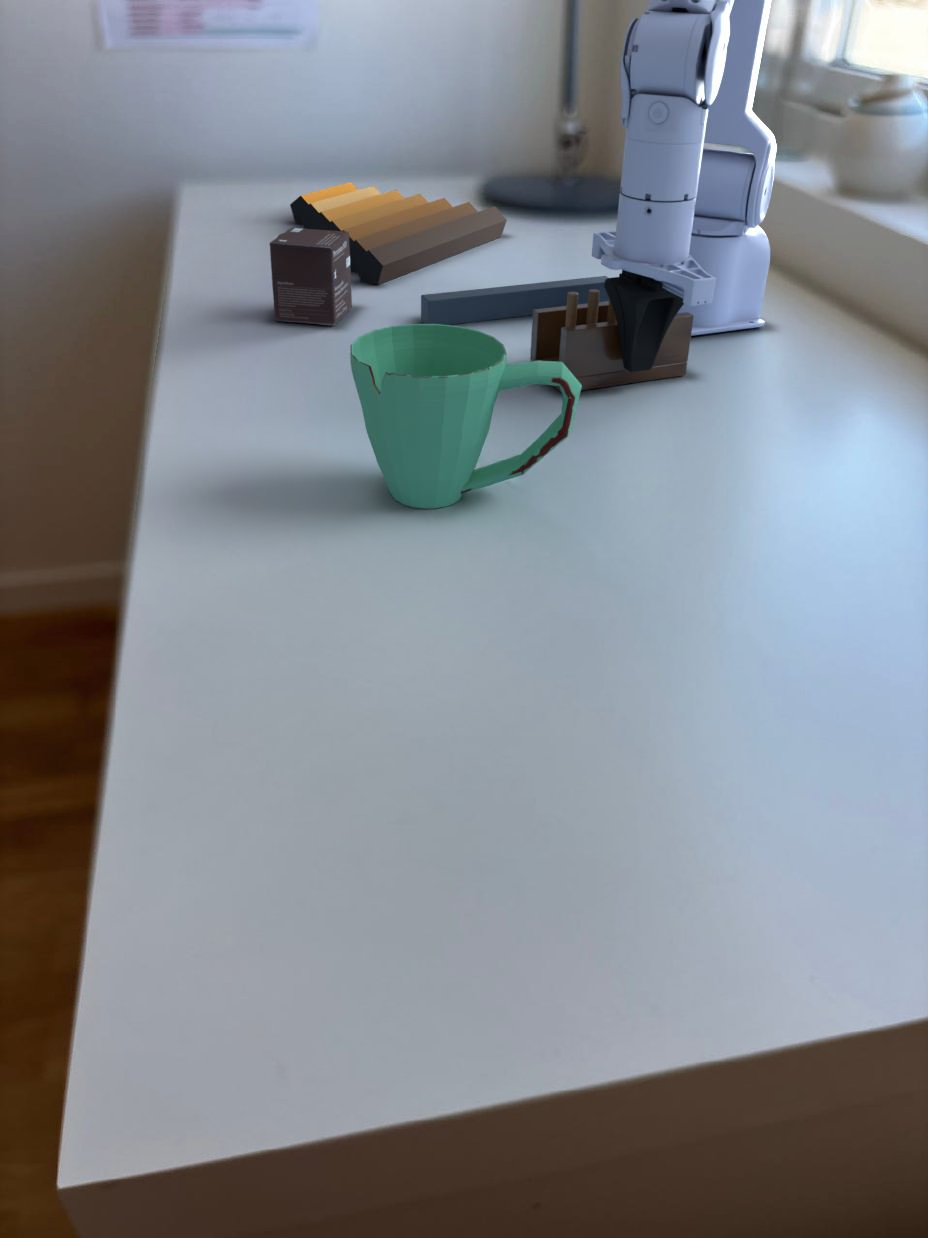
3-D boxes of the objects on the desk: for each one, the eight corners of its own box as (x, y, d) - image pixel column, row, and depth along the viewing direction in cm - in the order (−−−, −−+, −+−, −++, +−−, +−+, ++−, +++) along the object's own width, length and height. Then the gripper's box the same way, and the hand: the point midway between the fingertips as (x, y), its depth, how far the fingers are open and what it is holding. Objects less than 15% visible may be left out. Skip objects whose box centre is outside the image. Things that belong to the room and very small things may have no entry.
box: (334, 327, 102) (331, 247, 98) (273, 322, 103) (267, 241, 99) (353, 308, 107) (350, 230, 103) (294, 302, 108) (289, 226, 104)
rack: (648, 353, 98) (657, 272, 94) (685, 375, 94) (697, 290, 90) (529, 369, 94) (534, 285, 90) (562, 393, 89) (569, 305, 86)
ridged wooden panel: (383, 286, 113) (506, 237, 131) (382, 252, 111) (507, 208, 129) (205, 247, 124) (340, 207, 142) (202, 216, 122) (339, 179, 140)
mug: (342, 522, 70) (337, 372, 65) (365, 457, 78) (362, 319, 73) (572, 535, 69) (586, 385, 64) (570, 469, 78) (583, 330, 72)
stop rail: (603, 300, 111) (605, 275, 110) (613, 305, 110) (615, 280, 108) (420, 320, 104) (420, 294, 103) (428, 327, 103) (428, 300, 101)
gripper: (564, 177, 86) (552, 345, 94) (665, 219, 75) (642, 406, 82) (641, 172, 89) (623, 336, 96) (749, 212, 78) (720, 394, 85)
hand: (637, 368), depth 89 cm, fingers closed
